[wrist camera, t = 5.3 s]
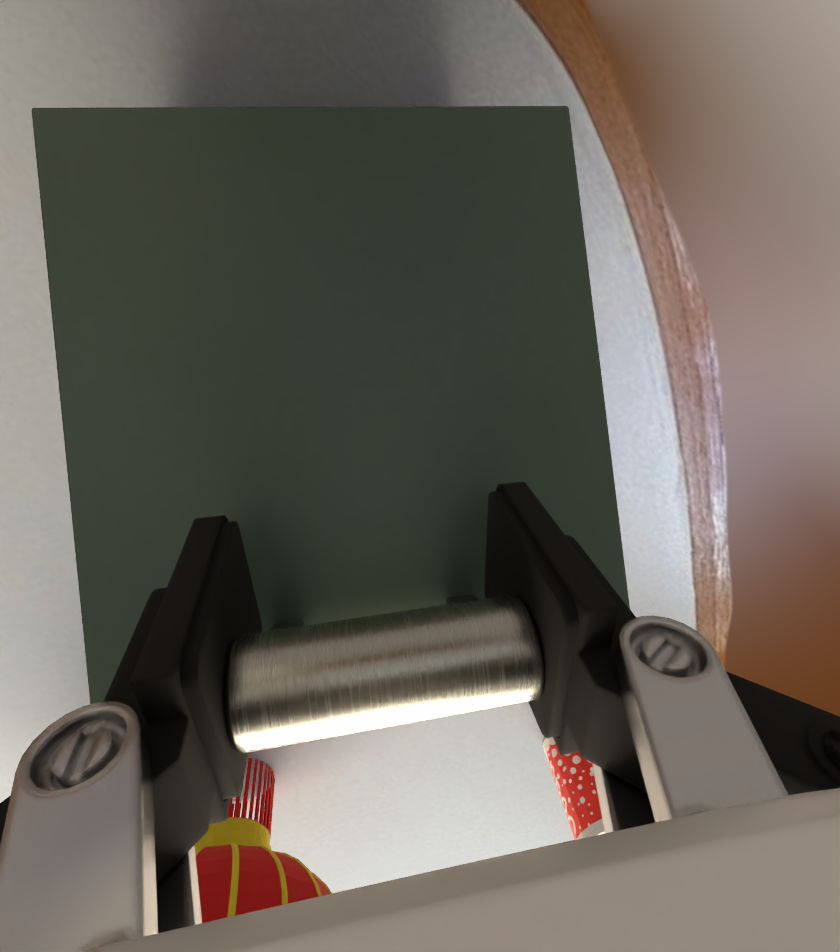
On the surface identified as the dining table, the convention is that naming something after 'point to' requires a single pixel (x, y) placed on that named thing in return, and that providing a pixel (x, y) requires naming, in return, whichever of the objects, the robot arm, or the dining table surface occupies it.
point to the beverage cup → (576, 790)
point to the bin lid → (325, 388)
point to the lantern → (249, 861)
